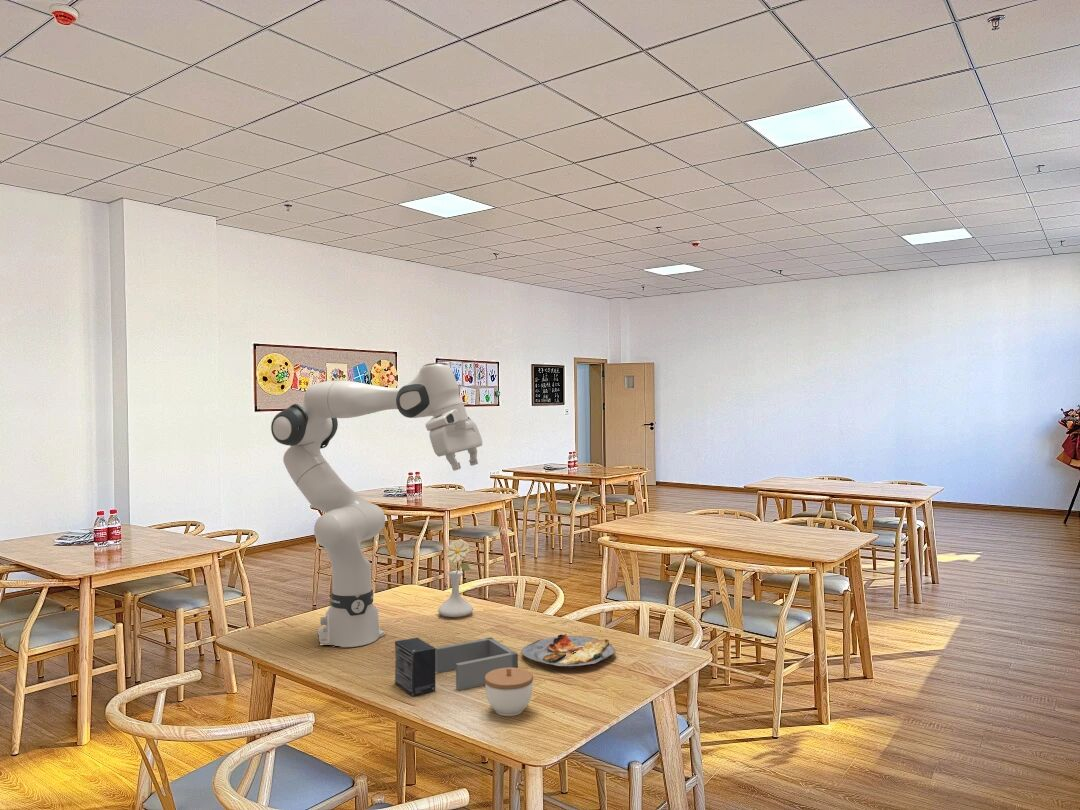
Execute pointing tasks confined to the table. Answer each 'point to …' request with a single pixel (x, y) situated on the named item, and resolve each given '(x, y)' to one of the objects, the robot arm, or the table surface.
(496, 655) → the box
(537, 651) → the food plate
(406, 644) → the small box
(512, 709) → the lidded jar
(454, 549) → the flower in vase
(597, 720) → the table surface
